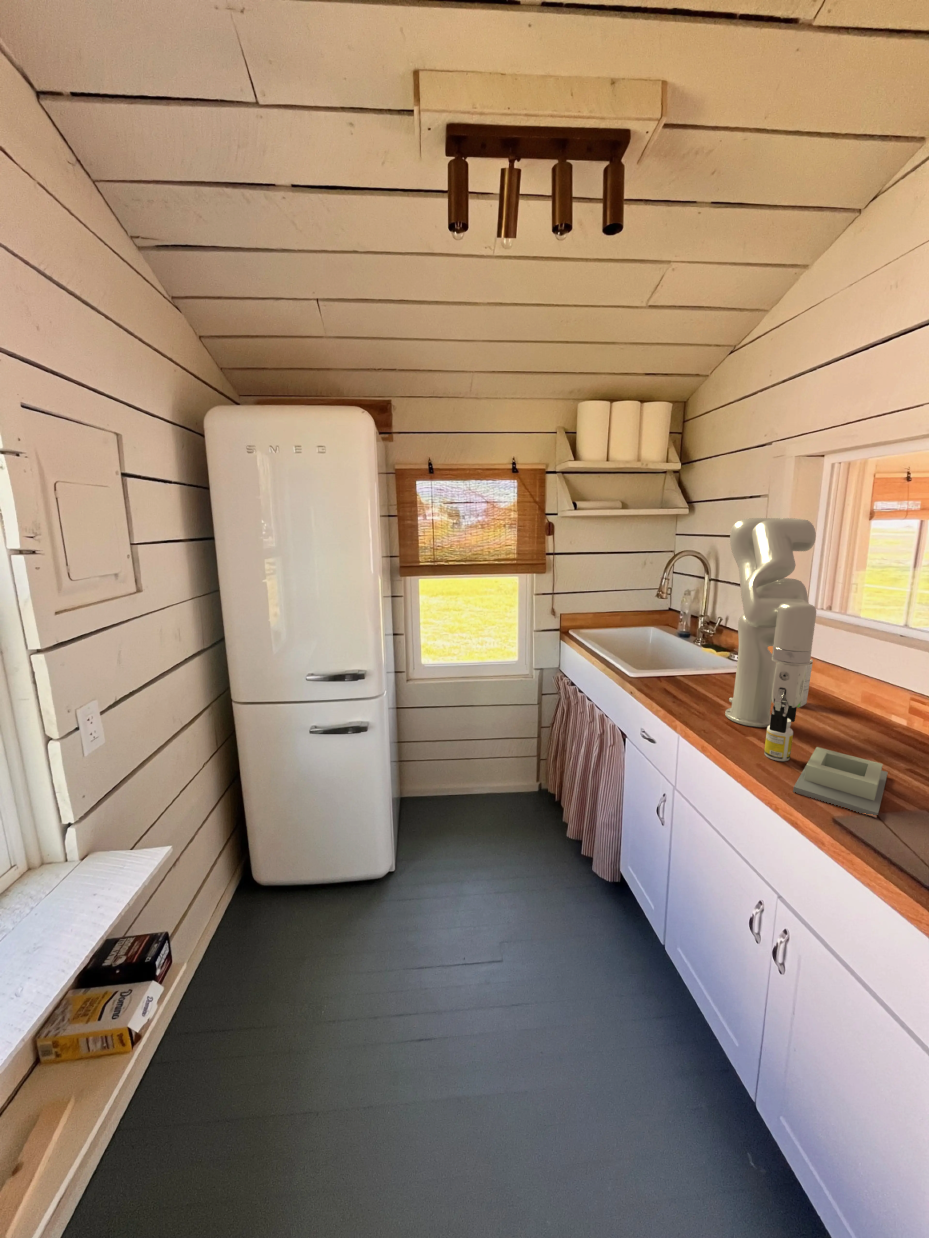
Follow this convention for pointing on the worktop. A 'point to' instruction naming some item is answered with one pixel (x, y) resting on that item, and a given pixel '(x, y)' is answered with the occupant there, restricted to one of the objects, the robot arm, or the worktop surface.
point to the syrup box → (806, 683)
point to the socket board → (841, 795)
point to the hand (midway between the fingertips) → (782, 725)
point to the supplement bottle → (779, 743)
